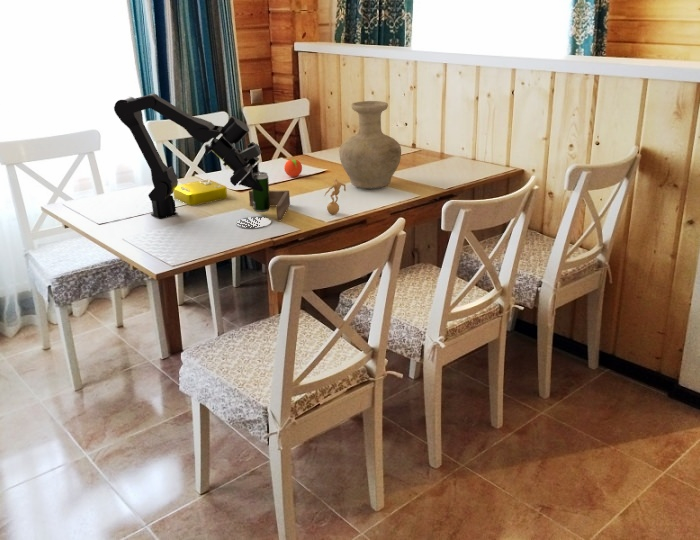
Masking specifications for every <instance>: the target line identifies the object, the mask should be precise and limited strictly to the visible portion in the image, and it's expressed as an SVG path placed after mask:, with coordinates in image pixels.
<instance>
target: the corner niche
mask: <svg viewBox="0 0 700 540" xmlns="http://www.w3.org/2000/svg"><path fill="white" fill-rule="evenodd" d="M248 196H249V197H248V199H249V206H250V207H251V206H252V207H253V194H252V190H249V191H248ZM269 199H270V205H277V206H275V209H276V211H275V212H276V221H277V220H281V219H282V220H283V218H284V217H283V216H285V215H286V213H287V211H288V209H289V208H290V206H291V200H290V199H291V198H290V190H269ZM289 205H290V206H289ZM288 207H289V208H288ZM286 210H287V211H286ZM285 212H286V213H285ZM284 214H285V215H284ZM282 220H281V221H282Z"/></svg>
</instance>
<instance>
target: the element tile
mask: <svg viewBox="0 0 700 540" xmlns="http://www.w3.org/2000/svg"><path fill="white" fill-rule="evenodd" d="M175 198H176V199H175ZM227 198H228V189H227V186H226V185H223V184H222V183H219V182H217V181H213V180H211V179H202V180H198V181H192V182H187V183H182V184H177V187H176V188H175V189H174V190H173V199H175V200H177V199H178V200H177V201H179V200H180V201H179V202H181V201H182V203H183V202H184V203H183V204H186V205H188V206H198V204H199V205H202V204H207V202H208V203H211V201H212V202H216V201H220V199H221V200H224V199H227ZM215 200H216V201H215Z"/></svg>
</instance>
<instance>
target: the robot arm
mask: <svg viewBox="0 0 700 540" xmlns="http://www.w3.org/2000/svg"><path fill="white" fill-rule="evenodd" d="M113 109H114V112H115V115H116V116H117V118H118V119H119V120H120V122H121V123H123V124H124V125H125V126H126V127H127V128H128V129H129V130H130V132H131V134H132V137H133V138H134V140H135V142H136V144H137V146H138V148H139V150H140V152H141V154H142V155H143V158H144V160H145V161H146V164H147V165H148V167H149V170H150V175H151V176H150V177H151V182H152V183H153V189H152V190H151V191H150V192H149V193H148V198H149V200H150V201H151V206H152V213H150V215H151V216H153V217H155V218H157V219H160V220H162V219H167V218H171V217H175V216H177V215H178V212H177V209H176V199H175V198H174V195H173V194H174V192H173V190H174V189H175V188H176V187H177V185H179V180H178V178H179V176H178V175H177V173H176V172H175V169H174V166H169V167H168V165H166V164H165V163H164V161H163V159H162V157H161V155H160V153H159V151H158V150H157V147H156V145H155V143H154V141H153V139H152V138H151V137H152V136H151V135H150V133H149V131H148V130H147V127H146V126H145V123H144V119H143V111H144V110H148V109H151V110H152V111H154V112H156V113H158V114H160V115H161V116H163V117H165V118H166V119H168V120H169V121H171V122H173V123H175V124H176V125H179V126H180V127H182V128H183V130H185V131H186V132H187V133H188V135H190V136H191V137H192V138H193V139H194V140H196V141H197V142H198V143H200V144H205V145H204V151H205V152H204V154H205V155H207V156H208V155H209V153H210V152H212V153H213V154H214V155H215V156H216V157H218V159H219V160H221V161H222V162H223V164H222V165H223V166H224V167H226V166H227V167H229V169H230V170H232V171H233V173H232V175H231V177H230V179H229V180H230V183H231V185H233V186H234V187H236V186H237V185H239V186H243V187H247V188H249V189H251V190H252V189H255V190H258V191H260V192H262V191H263V190H264V189H263V188H262V186H261V185H260V184H259V183H258V181H257V180H256V179H255V178H254V176H253V173H256V172H260V170H259V169H260V168H259V164H260V163H259V162H258V161H259V160H260V158H259V157H260V156H261V154H262V153H263V152H262V150H261V146H260V145H259V144H258V143H256V142H253V141H252V142H249V143H248V144H247V148H245V149H243V150H242V149H241V148H236V147H234V145H233V144H237V145H238V144H239V143H240V142H241V140H242V139H244V137H245V136H247V134H248V133H249V132H250V128H249V127H248V125H247V124H246V123H245V122H244V121H242V120H240V119H239V118H236V116H234V115H233V116H231V117H230V118H229V119H228V121H227V123H226V124H225V125H224V126H222V125H216V124H214V123H212V122H211V121H208V120H206V119H203V118H201V117H195V116H192V115H191V114H189V113H187V112H185V111H184V110H182V109H181V108H179V107H177V106H176V105H173V104H171V103H170V102H168V101H167V100H166V99H164V98H162V97H160V96H159V95H158V94H157V93H150V94H148V95H143V96H139V97H136V98H135V97H132V96H126V97H123V98H121V99H119V100H117V101H116V102H115V104H114V106H113ZM220 135H221V136H220ZM219 136H220V137H219ZM218 137H219V138H218ZM212 139H213V140H212ZM211 140H212V141H211ZM210 141H211V142H210ZM208 142H210V143H209V144H206V143H208Z"/></svg>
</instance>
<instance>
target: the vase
mask: <svg viewBox="0 0 700 540" xmlns="http://www.w3.org/2000/svg"><path fill="white" fill-rule="evenodd" d="M350 106H351V109H352V110H353V111H354V112H356V113H357V115H358V131H357V133H356V134H354V135H353V136H350V137H348V138H347V139H346V140H344V141H343V142H342V144H341V145H340V146H339V154H338V156H339V160H340V163H341V166H342V168H343V170H344V171H345V173H346V175H347V176H348V179H349V180H350V183H351V185H352V186H354V187H356V188H362V189H379V188H384V187H387V186H388V185H390V183H391V181H392V177H393V176H394V174H395V172H396V170H397V169H398V167H399V165H400V162H401V158H402V148H401V145H400V143H399V142H398V140H397V139H395V138H393V137H391V136H389V135H387V134H385V133H384V132H383V130H382V120H381V119H382V113H383V112H385V111H386V110H387V109H388V108H389V105H388V103H387V102H385V101H380V100H379V101H378V100H363V101H357V102H353V103H351V105H350Z"/></svg>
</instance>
